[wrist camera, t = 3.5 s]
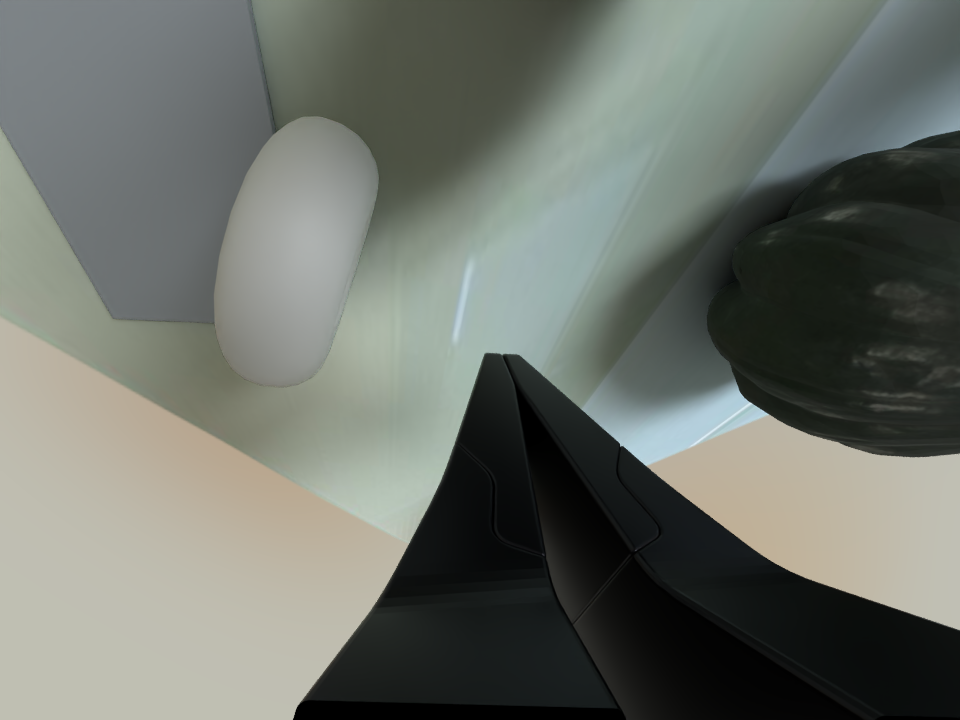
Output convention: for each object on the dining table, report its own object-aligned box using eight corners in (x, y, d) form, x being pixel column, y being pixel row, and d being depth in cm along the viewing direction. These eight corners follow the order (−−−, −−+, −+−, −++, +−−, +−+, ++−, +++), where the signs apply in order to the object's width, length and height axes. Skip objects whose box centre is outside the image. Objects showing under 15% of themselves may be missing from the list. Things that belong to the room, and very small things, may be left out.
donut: (346, 314, 21) (294, 454, 13) (282, 294, 20) (182, 433, 12) (401, 133, 16) (370, 181, 8) (319, 90, 14) (185, 95, 7)
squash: (775, 457, 25) (1314, 563, 11) (630, 382, 20) (1320, 412, 6) (810, 282, 28) (1288, 196, 14) (690, 172, 22) (1277, -143, 9)
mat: (248, -15, 12) (243, -18, 12) (312, 323, 21) (310, 327, 20) (-107, -80, 11) (-124, -86, 11) (118, 314, 19) (113, 318, 19)
